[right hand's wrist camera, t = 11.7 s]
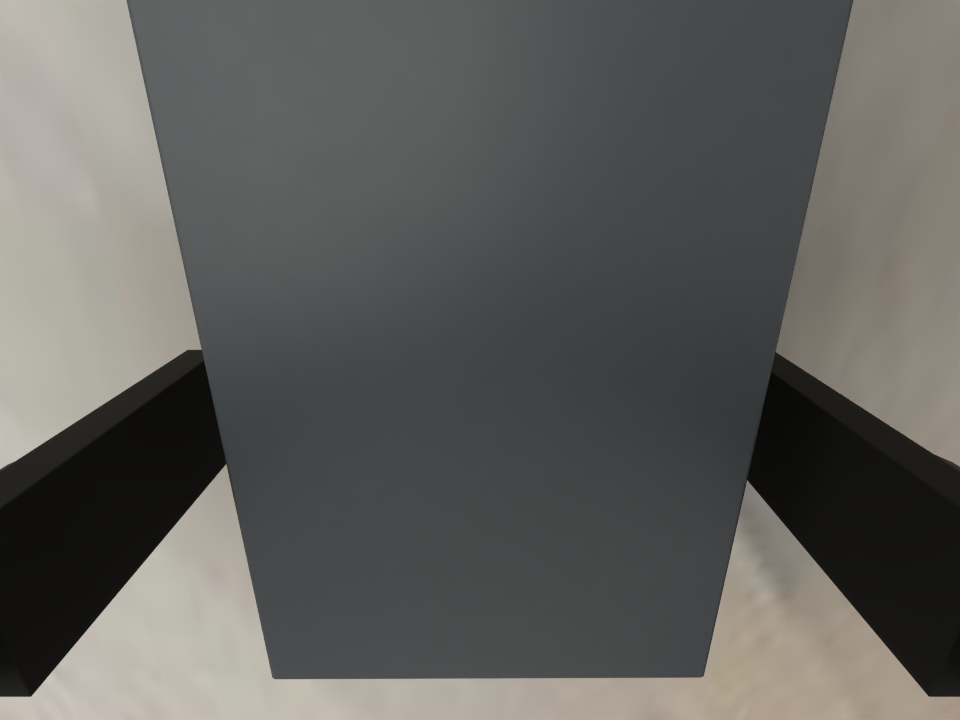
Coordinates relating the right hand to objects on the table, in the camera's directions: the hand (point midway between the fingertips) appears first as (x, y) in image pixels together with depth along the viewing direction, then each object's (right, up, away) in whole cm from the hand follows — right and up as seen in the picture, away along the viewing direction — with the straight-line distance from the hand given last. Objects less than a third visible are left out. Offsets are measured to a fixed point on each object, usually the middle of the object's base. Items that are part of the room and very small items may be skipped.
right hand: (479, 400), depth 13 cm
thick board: (0, +28, -8) cm, 29 cm away
